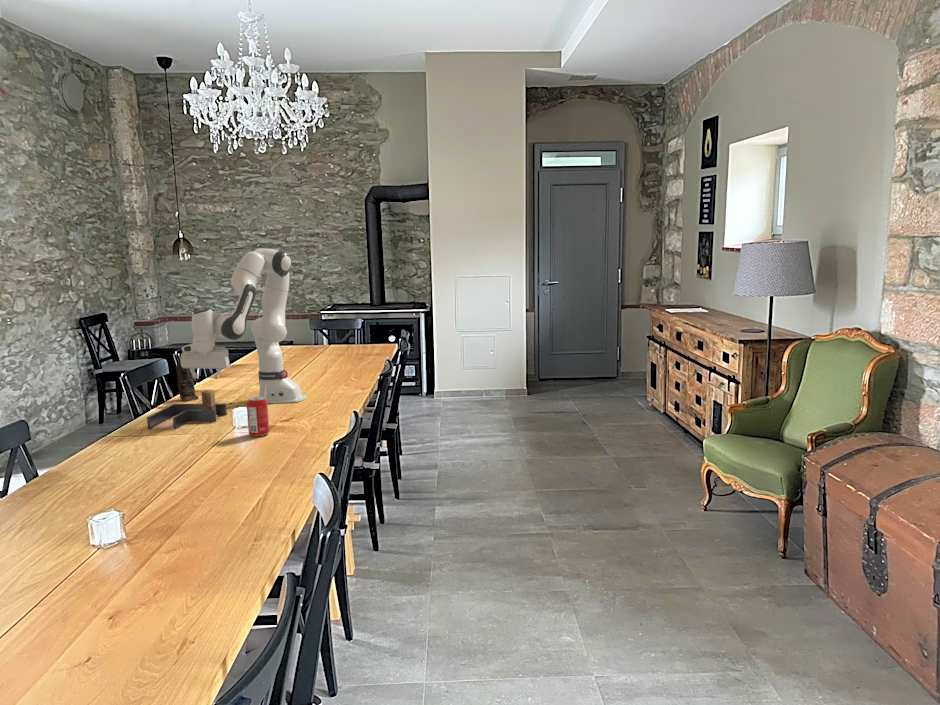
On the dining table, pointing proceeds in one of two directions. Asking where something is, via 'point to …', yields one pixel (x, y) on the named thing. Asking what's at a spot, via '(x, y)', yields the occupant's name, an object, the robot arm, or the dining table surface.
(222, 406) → the channel
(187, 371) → the statue
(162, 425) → the pad
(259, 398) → the soda can
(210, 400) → the walnut block
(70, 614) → the dining table surface
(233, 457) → the dining table surface
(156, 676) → the dining table surface
